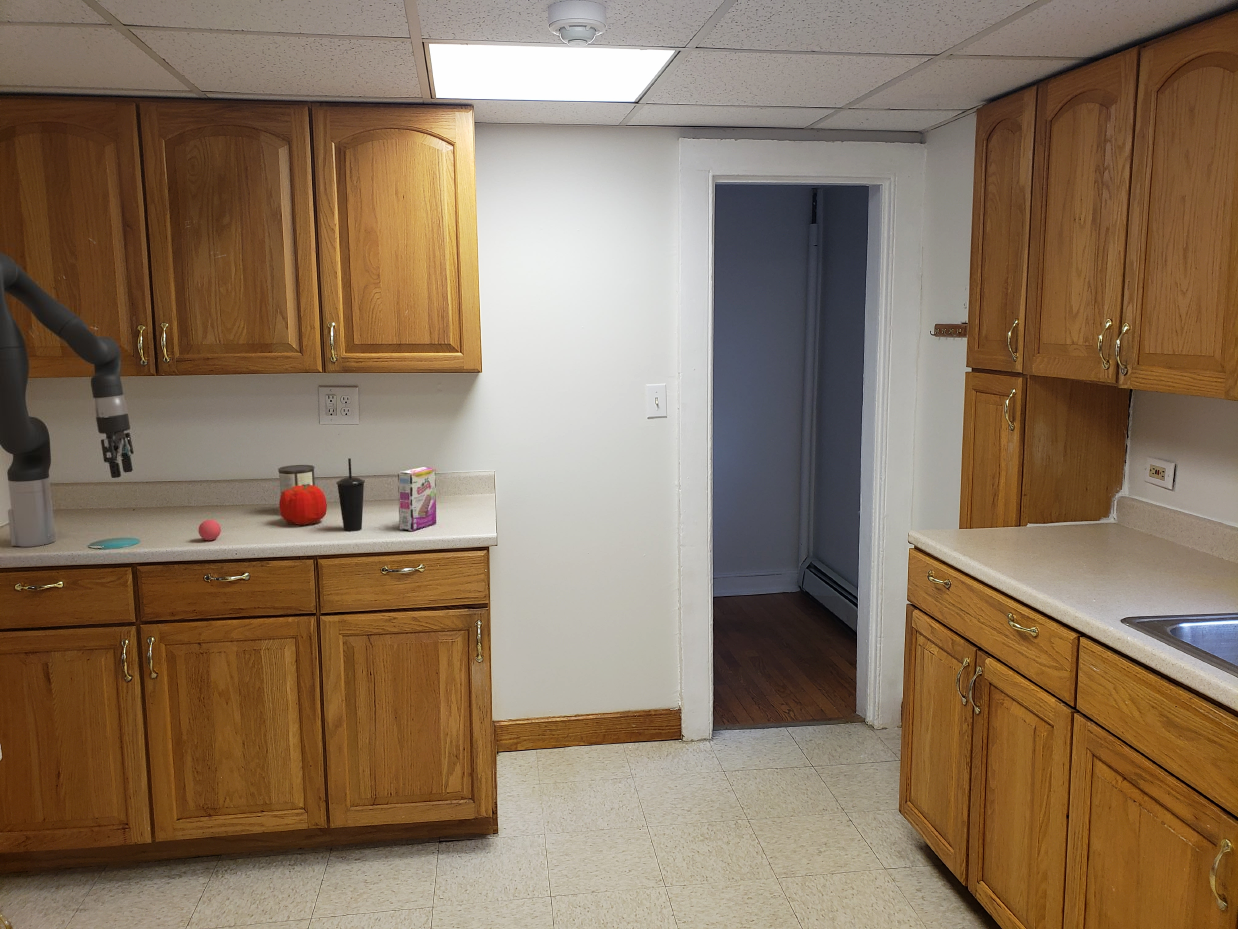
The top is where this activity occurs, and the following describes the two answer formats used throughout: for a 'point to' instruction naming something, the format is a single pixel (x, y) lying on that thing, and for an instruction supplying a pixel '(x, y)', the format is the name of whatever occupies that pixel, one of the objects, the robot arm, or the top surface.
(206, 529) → the ball
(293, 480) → the coffee can
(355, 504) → the drinking cup
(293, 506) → the tomato
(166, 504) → the top surface
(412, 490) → the candy bar box
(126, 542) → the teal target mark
